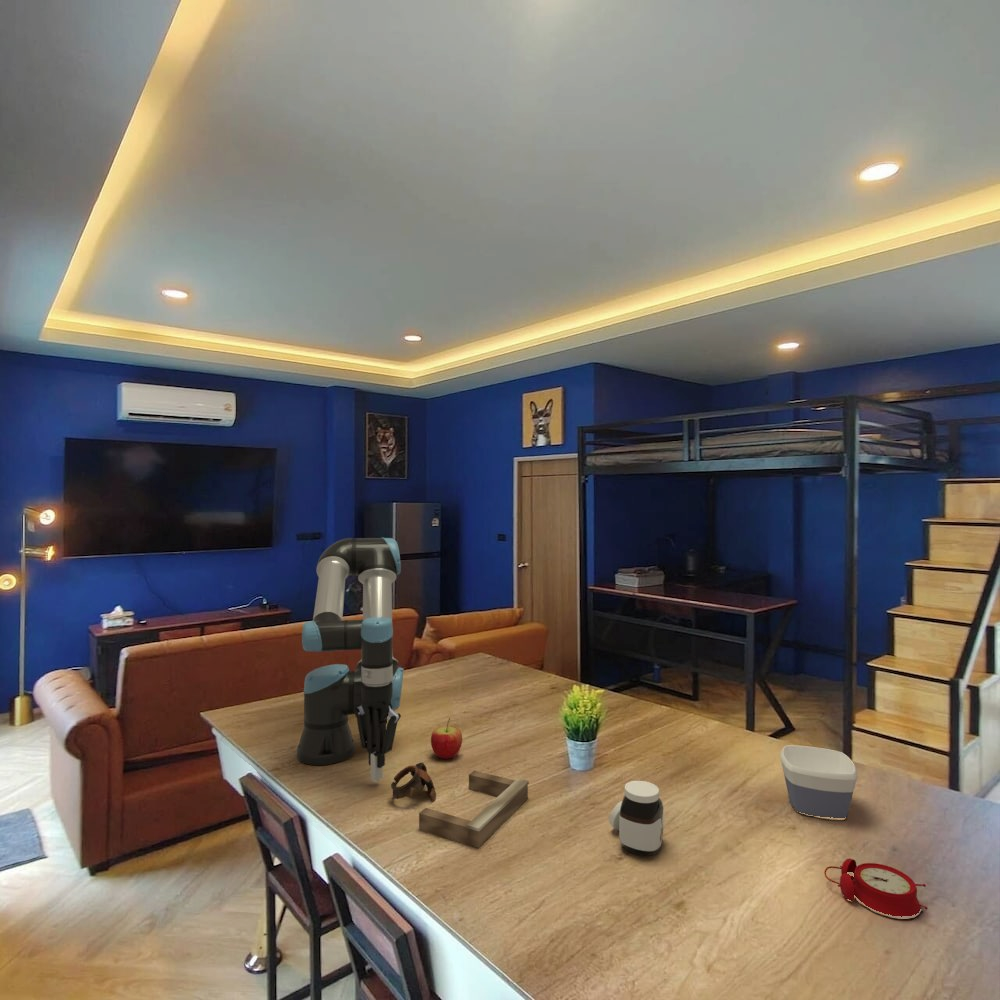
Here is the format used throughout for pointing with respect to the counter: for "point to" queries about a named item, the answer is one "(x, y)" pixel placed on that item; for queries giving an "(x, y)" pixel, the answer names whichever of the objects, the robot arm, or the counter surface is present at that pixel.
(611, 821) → the spread jar
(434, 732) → the apple
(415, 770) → the brown broken pot
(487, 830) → the walnut pocket
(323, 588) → the robot arm
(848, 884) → the alarm clock
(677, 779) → the counter surface
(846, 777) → the bowl
